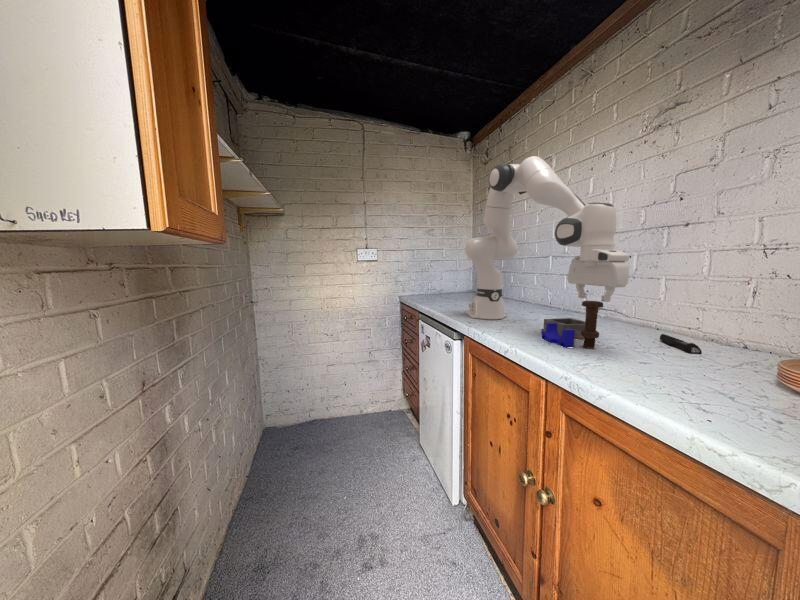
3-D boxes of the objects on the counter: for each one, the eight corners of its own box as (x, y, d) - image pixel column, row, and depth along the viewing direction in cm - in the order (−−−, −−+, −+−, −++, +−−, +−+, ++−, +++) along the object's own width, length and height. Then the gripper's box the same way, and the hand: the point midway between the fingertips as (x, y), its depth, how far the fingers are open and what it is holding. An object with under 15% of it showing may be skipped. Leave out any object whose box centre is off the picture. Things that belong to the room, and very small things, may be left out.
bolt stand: (541, 331, 121) (542, 318, 120) (570, 330, 123) (571, 317, 122) (564, 340, 108) (565, 325, 107) (596, 338, 110) (597, 324, 110)
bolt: (601, 350, 96) (605, 303, 94) (583, 349, 97) (587, 302, 95) (593, 345, 101) (597, 300, 99) (577, 344, 102) (580, 300, 100)
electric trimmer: (668, 342, 107) (669, 333, 106) (703, 355, 92) (704, 345, 91) (655, 342, 107) (656, 333, 107) (688, 354, 92) (689, 344, 92)
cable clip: (541, 339, 110) (542, 322, 110) (553, 338, 111) (554, 322, 110) (560, 348, 98) (561, 330, 98) (573, 348, 99) (574, 330, 98)
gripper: (564, 256, 105) (561, 296, 106) (615, 254, 85) (611, 304, 86) (580, 256, 106) (577, 296, 107) (634, 254, 86) (630, 303, 87)
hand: (593, 299), depth 97 cm, fingers open, 8 cm apart
